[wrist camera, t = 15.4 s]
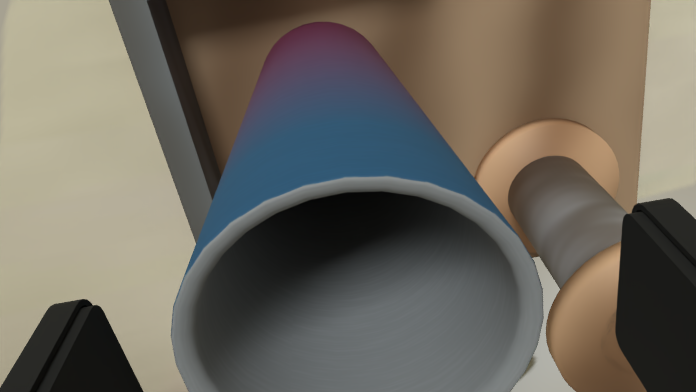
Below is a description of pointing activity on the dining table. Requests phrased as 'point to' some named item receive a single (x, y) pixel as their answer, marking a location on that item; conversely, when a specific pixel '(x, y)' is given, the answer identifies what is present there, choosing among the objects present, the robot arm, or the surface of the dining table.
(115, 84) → the dining table surface
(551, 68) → the board
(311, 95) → the cup
